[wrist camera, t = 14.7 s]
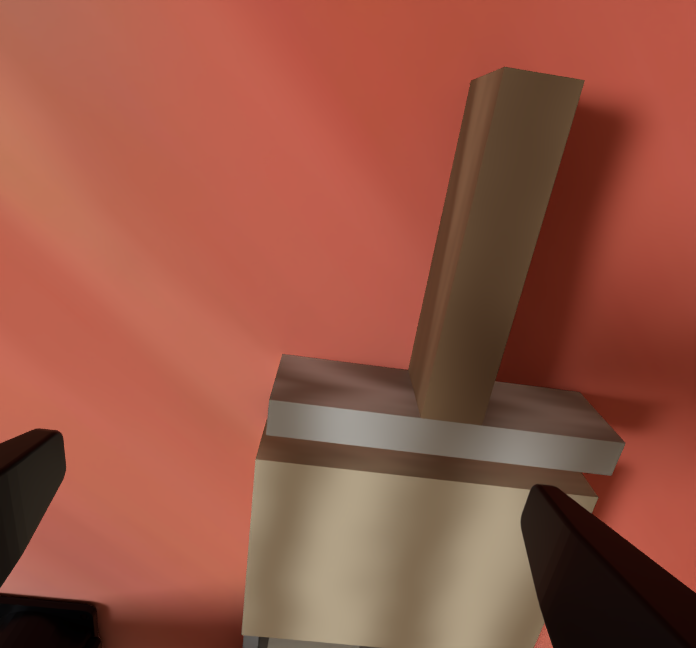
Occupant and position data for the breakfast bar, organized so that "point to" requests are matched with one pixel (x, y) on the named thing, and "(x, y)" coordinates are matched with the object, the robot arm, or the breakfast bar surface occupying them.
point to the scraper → (467, 311)
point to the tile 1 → (303, 644)
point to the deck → (392, 547)
